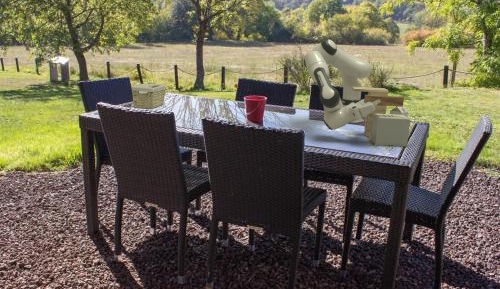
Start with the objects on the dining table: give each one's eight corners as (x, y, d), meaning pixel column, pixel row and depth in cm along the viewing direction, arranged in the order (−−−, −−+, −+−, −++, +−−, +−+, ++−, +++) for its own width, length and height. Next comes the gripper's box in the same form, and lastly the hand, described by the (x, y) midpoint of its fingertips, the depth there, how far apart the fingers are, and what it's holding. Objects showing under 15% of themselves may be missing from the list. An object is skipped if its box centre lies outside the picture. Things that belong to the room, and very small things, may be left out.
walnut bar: (363, 103, 241) (364, 94, 240) (400, 105, 240) (401, 96, 239) (365, 104, 237) (366, 95, 236) (402, 106, 236) (403, 98, 235)
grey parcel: (370, 139, 250) (373, 113, 246) (401, 141, 249) (404, 115, 245) (375, 144, 238) (378, 118, 235) (407, 146, 237) (410, 119, 234)
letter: (375, 114, 246) (375, 113, 246) (402, 115, 245) (402, 114, 245) (380, 117, 235) (380, 117, 235) (408, 119, 234) (408, 118, 234)
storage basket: (145, 103, 336) (145, 82, 333) (166, 104, 334) (166, 84, 330) (131, 108, 314) (130, 86, 310) (153, 109, 311) (153, 87, 307)
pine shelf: (348, 132, 265) (352, 86, 259) (379, 133, 264) (384, 88, 258) (350, 135, 256) (354, 88, 250) (383, 137, 256) (388, 90, 249)
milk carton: (386, 137, 256) (390, 103, 251) (393, 135, 261) (397, 102, 256) (398, 140, 251) (402, 105, 246) (405, 138, 256) (409, 104, 251)
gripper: (353, 113, 251) (377, 102, 249) (360, 120, 231) (385, 108, 229) (348, 103, 250) (372, 91, 248) (354, 109, 230) (380, 96, 228)
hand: (379, 99), depth 238 cm, fingers closed on walnut bar, 4 cm apart
